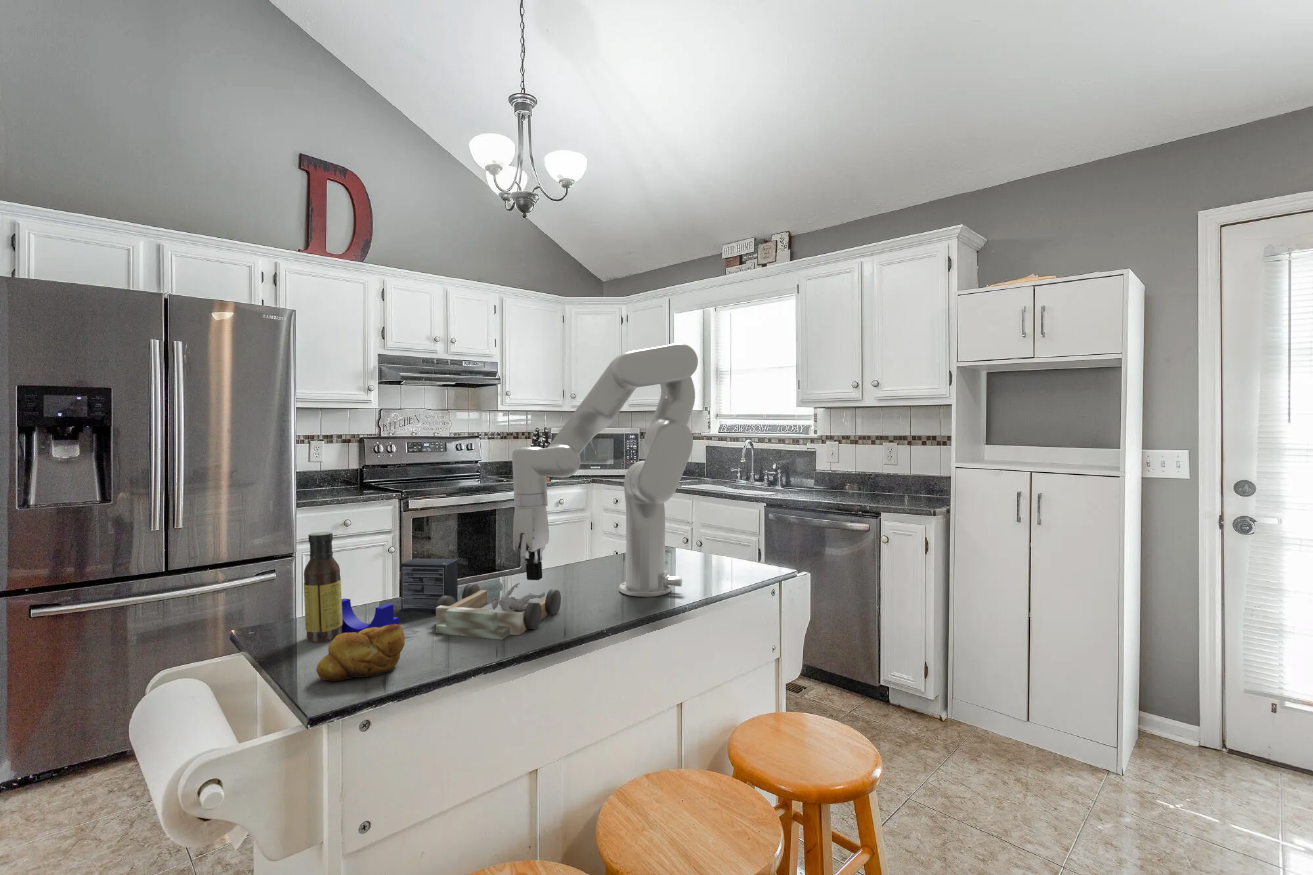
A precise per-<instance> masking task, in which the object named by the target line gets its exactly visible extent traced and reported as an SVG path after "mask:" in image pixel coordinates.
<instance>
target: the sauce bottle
mask: <svg viewBox="0 0 1313 875" xmlns="http://www.w3.org/2000/svg"><path fill="white" fill-rule="evenodd" d="M333 536H334V535H333V531H319V532H312V533H309V534H308V539H307V540H308V543H309V561H308V562H307V564H306V566H305V568H304V569H303V580H304V581H303V595H304V596H303V597H304V598H303V600H304V623H305V624H304V625H305V626H304V629H305V631H306V640H307V641H308V642H309V643H325V642H329V641H330V642H331V641H333V639H334V638H335V637H336V636H337V635H339V634H342V624H343V623H342V600H341V599H342V581H341V580H342V579H341V568H340V565H339V563H338V562H337V561H336V559H335V558H334V556H333V555H334V552H333V539H334V537H333Z"/></svg>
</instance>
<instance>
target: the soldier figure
mask: <svg viewBox="0 0 1313 875" xmlns="http://www.w3.org/2000/svg"><path fill="white" fill-rule="evenodd" d="M518 585H521V583H519V582H518V583H516V584H514V585H513V586H512V587H510V589H509V590H507V591H506V592H505V593H504V594H503V595H502V596H501V597H500V598H494V599H492V600H491V607H492V610H496V608H498V605H499V606H500V608H501V609H502V611H512V612H524V611H525V610H526V607H527V605H528V604H529V603H528V602H529V601H530V600H533V599H542V598H545V597H546V592H544V591H543V592H542V593H540V594H535V593H532V592H531V593H528V594H526V595H524V596H522V598H516V597H514V596H512V597H510V596H511V595H512V594H513V592H514V591H515V588H518Z"/></svg>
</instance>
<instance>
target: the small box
mask: <svg viewBox="0 0 1313 875" xmlns="http://www.w3.org/2000/svg"><path fill="white" fill-rule="evenodd" d="M458 561H459V560H458V558H455V559H454V558H415V557H414V558H412V559H409V560H407V561H404V562H402V563H400V574H401V576H400V583H401V584H400V590H401V592H400V593H401V596H400V600H401V602H400V611H401V612H413V611H416V613H417V612H418V613H419V611H420V612H423V611H424V612H423V613H435V608H436V604H437V602H438V600H439V598H440V597H441V596H452V597H453V598H454V600H455V603H456V602H458V599H459V598H458V592H459V591H458V589H459V588H458V570H459V569H458ZM402 598H404V599H402Z"/></svg>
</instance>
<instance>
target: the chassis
mask: <svg viewBox="0 0 1313 875" xmlns="http://www.w3.org/2000/svg"><path fill="white" fill-rule="evenodd" d="M462 590H463V591H462V594H461V599H460V600H459V601H458V602H456V603H455V600H454V598H453V597H452V596H441V597H440V598H439V600H438V602H437V604H436V608H435V612H434V613H435V628H436V631H435V633H436V634H438V633H443V634H442V635H450V636H459V635H460V636H461V637H470V638H472V637H473V638H480V637H481V638H482V639H483V638H484V639H493V640H504V639H505V638H507V637H508V636H510V635H512V636H521V635H522V634H524V632H526V631H527V630H536V629H538V628H539V626H540V624H541V621H542V620H543V619H544V618H545V617H547V616H548V615H557V614H558V612H559V611H560V609H561V604H562V595H561V592H560V590H558V589H549V591H548V592H547V594H546V595H545V597H543V599H542V598H541V599H540V600H539V601H538V602H529V603H527V604H528V605H527V607H526V610H525V611H524V612H523V611H519V612H518V611H513V610H512V611H513V612H512V611H504V610H499V609H495V610H493V609H487V608H482V607H484V606H486V605H488V590H486V589H485V590H484V589H480V587H479V585H478V584H476V583H467V584H466V585H465V586H464V588H463V589H462ZM485 604H486V605H485ZM481 606H482V607H481ZM477 608H479V609H477ZM481 638H480V639H481Z"/></svg>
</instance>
